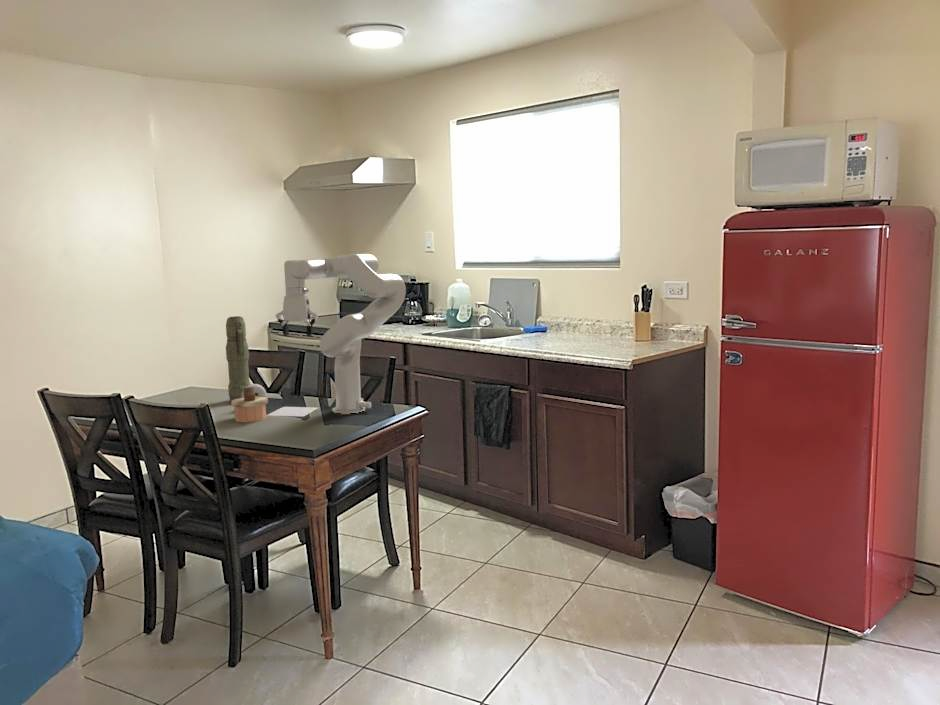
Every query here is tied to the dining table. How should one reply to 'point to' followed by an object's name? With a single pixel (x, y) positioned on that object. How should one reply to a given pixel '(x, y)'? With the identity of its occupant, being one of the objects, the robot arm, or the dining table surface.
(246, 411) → the bowl
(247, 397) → the lid
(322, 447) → the dining table surface
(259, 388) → the donut
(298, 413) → the mat
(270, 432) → the dining table surface
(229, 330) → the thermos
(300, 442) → the dining table surface
